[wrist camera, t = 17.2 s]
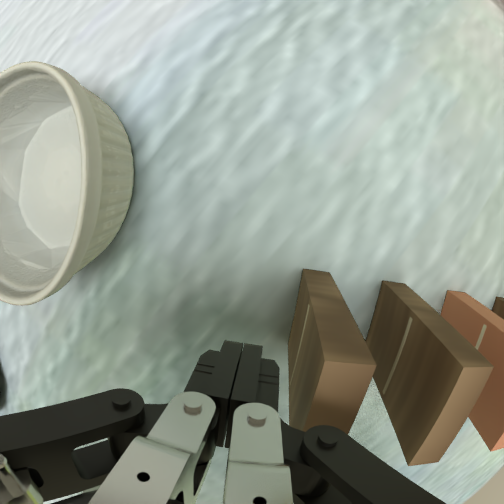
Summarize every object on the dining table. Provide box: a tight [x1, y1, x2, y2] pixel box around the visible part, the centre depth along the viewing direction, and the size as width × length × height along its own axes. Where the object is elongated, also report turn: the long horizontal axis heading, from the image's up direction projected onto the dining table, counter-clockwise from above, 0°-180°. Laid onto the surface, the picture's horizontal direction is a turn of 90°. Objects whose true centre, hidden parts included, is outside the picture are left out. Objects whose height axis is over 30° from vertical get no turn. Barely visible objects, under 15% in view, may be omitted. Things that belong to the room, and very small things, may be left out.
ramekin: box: [0, 61, 134, 306], centre depth 15 cm, size 13×13×7 cm
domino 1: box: [288, 269, 376, 435], centre depth 14 cm, size 2×5×10 cm, turn 172°
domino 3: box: [440, 290, 504, 451], centre depth 13 cm, size 2×5×10 cm, turn 173°
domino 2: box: [366, 281, 494, 466], centre depth 13 cm, size 2×5×10 cm, turn 172°
